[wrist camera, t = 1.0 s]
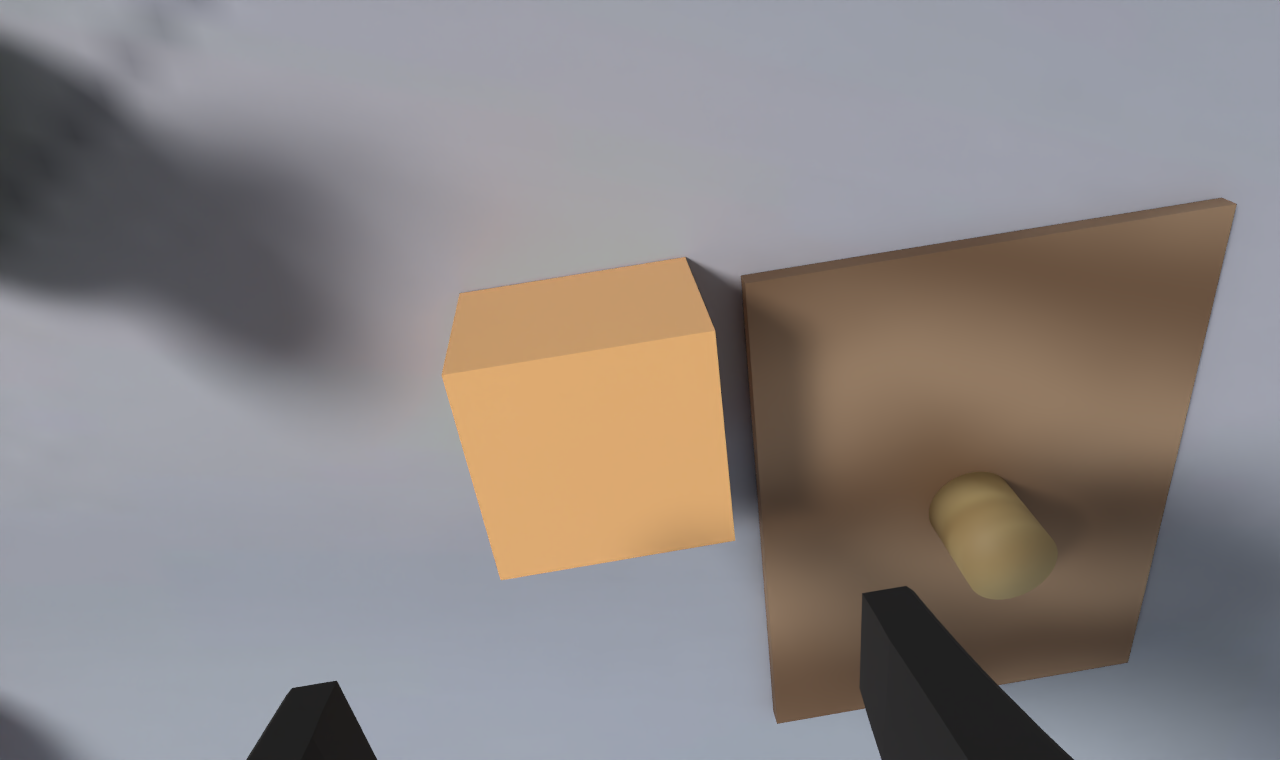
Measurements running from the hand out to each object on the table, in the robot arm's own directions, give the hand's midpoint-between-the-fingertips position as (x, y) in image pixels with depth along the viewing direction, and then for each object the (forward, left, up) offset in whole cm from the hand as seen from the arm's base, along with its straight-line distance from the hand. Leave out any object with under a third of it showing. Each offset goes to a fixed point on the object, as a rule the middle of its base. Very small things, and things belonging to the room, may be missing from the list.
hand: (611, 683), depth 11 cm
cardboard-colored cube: (-1, 0, -11) cm, 10 cm away
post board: (-7, -10, -11) cm, 16 cm away
